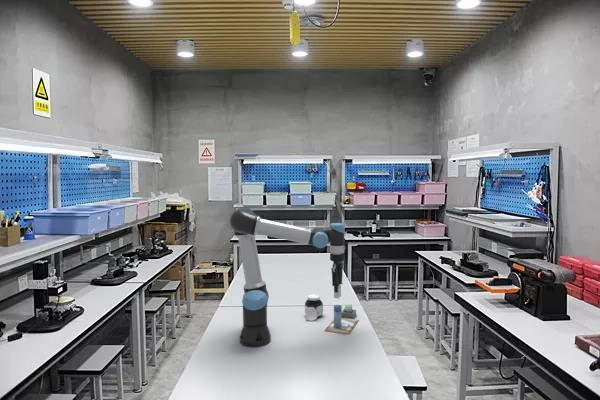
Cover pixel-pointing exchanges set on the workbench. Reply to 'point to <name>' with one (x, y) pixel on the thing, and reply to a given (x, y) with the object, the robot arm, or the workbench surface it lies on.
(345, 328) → the picture frame
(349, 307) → the button
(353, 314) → the button housing
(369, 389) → the workbench surface
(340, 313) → the blue cylinder
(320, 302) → the spread jar
